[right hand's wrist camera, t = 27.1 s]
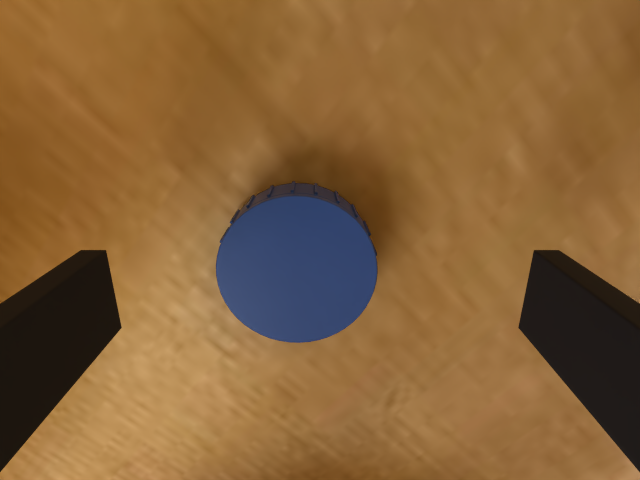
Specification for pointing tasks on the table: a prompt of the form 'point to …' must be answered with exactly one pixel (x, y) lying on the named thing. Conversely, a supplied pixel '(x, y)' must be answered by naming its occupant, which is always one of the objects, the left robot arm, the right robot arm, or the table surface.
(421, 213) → the table surface
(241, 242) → the lid
